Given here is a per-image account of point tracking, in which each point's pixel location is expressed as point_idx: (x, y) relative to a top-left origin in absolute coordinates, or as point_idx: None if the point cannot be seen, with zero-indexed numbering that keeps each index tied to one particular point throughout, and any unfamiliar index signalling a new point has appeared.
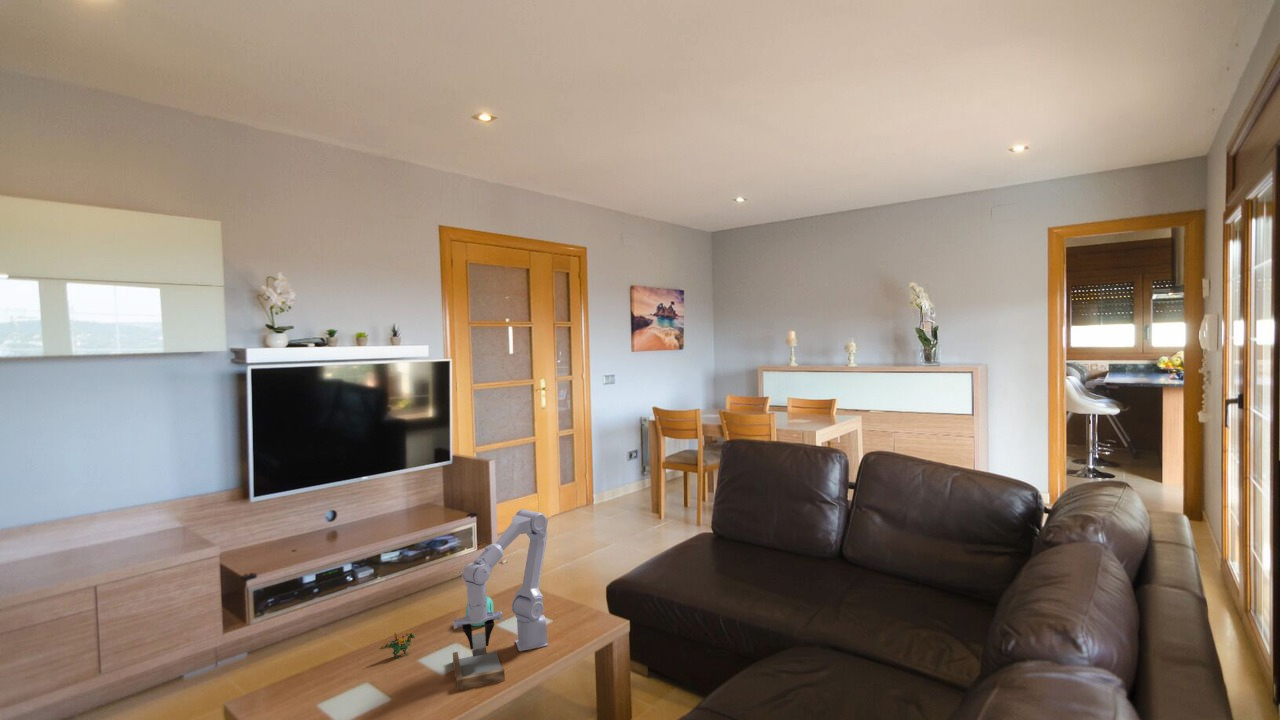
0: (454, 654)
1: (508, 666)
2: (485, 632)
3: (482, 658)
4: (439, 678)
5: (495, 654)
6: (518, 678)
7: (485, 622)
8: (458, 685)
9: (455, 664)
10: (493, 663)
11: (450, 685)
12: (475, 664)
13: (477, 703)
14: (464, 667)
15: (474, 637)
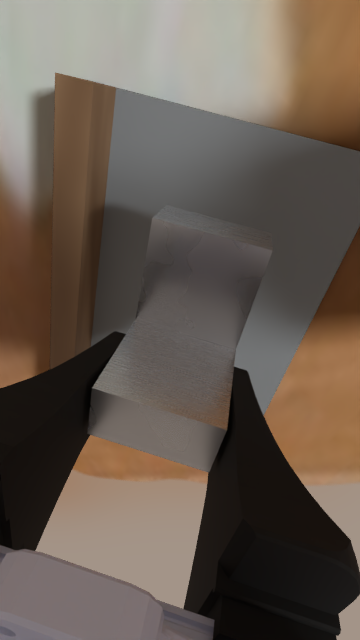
0: (65, 120)
1: (331, 360)
2: (228, 444)
3: (257, 201)
4: (5, 238)
5: (356, 206)
6: (300, 459)
7: (202, 608)
8: None
9: (55, 275)
10: (278, 307)
11: (48, 329)
12: None
13: (115, 474)
14: (127, 239)
15: (108, 436)
